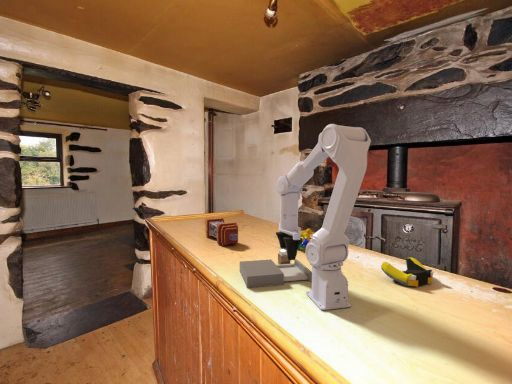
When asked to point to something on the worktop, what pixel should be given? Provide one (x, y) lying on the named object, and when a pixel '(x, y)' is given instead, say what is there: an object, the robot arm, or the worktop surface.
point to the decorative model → (305, 238)
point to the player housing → (261, 273)
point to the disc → (283, 251)
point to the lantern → (222, 231)
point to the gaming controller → (409, 273)
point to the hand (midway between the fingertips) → (288, 256)
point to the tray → (295, 271)
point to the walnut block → (283, 260)
